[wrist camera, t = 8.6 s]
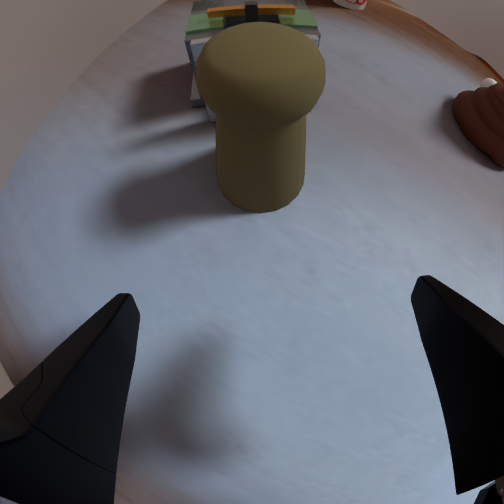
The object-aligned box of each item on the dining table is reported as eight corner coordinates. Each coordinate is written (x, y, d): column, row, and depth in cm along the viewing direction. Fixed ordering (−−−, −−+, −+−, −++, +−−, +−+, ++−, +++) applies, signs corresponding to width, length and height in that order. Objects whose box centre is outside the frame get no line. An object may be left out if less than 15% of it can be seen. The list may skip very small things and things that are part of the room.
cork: (198, 181, 18) (143, 60, 8) (251, 123, 19) (245, -3, 8) (271, 230, 18) (286, 124, 7) (320, 164, 18) (368, 41, 8)
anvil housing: (316, 101, 20) (333, 34, 13) (192, 107, 20) (171, 41, 13) (304, 55, 21) (312, -5, 14) (197, 60, 21) (183, 1, 14)
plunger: (303, 117, 19) (320, 34, 11) (210, 122, 19) (188, 39, 11) (295, 79, 20) (305, 2, 12) (211, 82, 20) (196, 6, 12)
